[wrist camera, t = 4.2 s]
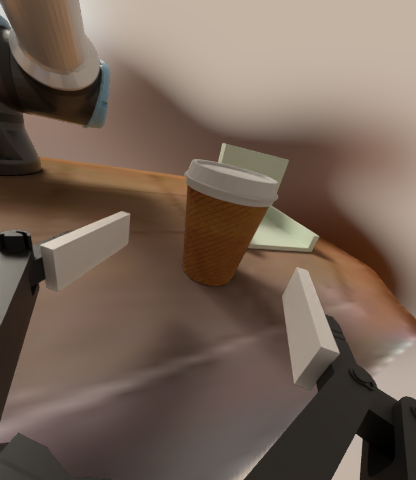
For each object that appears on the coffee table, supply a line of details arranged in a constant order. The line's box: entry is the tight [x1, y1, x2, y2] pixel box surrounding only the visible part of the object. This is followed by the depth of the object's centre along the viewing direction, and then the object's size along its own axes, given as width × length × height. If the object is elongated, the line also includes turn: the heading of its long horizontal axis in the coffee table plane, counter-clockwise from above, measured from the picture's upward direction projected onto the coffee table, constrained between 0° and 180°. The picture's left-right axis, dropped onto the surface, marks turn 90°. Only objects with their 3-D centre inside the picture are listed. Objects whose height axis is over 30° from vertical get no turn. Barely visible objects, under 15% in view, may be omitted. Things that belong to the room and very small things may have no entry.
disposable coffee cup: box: [183, 159, 278, 286], centre depth 23 cm, size 10×10×12 cm
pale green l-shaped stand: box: [218, 143, 319, 252], centre depth 40 cm, size 18×15×14 cm
